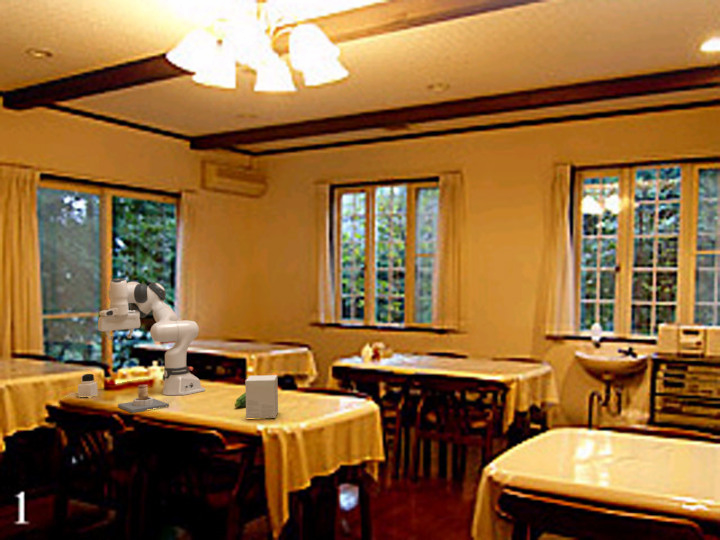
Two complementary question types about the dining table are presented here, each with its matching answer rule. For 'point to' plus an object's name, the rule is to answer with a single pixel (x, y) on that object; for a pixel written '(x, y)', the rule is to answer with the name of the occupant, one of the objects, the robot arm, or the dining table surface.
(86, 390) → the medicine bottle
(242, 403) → the vegetable
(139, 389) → the oak peg
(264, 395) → the supplement box
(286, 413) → the dining table surface
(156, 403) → the ring collar board
